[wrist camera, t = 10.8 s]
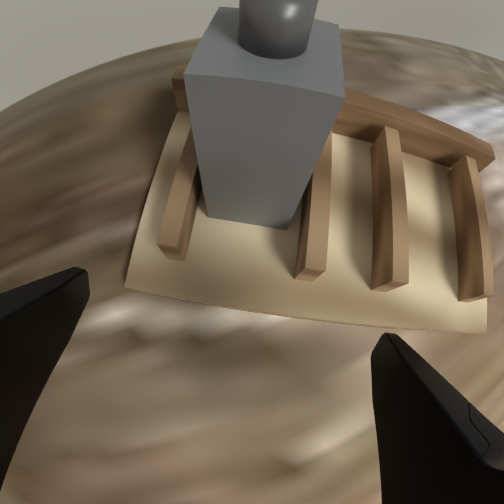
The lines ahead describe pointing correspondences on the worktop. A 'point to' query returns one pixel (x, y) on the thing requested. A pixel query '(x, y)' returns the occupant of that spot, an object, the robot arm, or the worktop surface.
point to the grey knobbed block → (263, 107)
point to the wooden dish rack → (334, 228)
